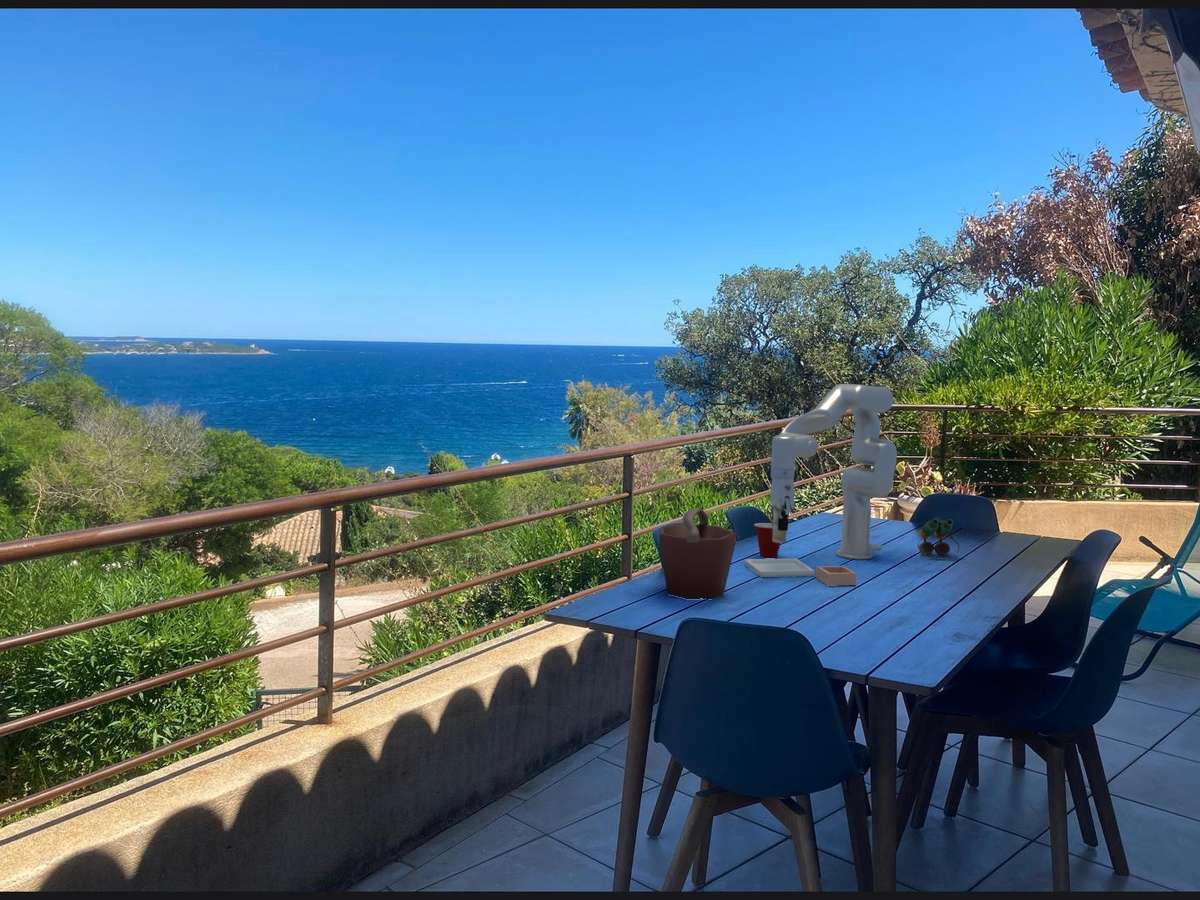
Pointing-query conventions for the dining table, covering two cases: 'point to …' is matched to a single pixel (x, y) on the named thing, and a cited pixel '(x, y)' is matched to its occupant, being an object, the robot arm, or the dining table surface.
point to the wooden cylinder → (777, 535)
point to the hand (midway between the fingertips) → (779, 528)
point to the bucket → (696, 557)
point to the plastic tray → (779, 567)
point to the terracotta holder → (836, 575)
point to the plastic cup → (766, 540)
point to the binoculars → (940, 532)
